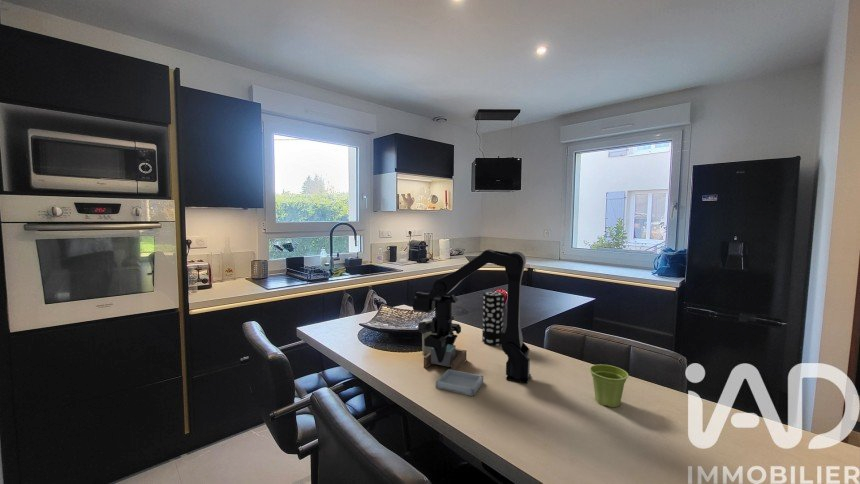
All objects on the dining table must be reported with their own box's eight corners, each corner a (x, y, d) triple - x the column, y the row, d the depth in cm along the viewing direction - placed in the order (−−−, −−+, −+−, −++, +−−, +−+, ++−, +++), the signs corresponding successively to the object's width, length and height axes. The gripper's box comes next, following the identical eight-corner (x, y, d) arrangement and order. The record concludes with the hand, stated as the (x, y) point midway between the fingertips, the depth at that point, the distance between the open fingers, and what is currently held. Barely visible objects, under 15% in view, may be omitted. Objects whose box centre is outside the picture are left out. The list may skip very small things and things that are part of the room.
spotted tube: (478, 339, 145) (479, 292, 144) (496, 337, 148) (497, 290, 147) (488, 346, 138) (488, 296, 136) (506, 344, 140) (507, 295, 139)
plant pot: (606, 413, 91) (607, 381, 90) (581, 395, 100) (582, 366, 99) (635, 408, 93) (636, 376, 92) (608, 391, 102) (609, 362, 102)
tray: (483, 382, 108) (483, 375, 108) (473, 396, 99) (473, 389, 99) (448, 374, 113) (448, 368, 112) (435, 387, 104) (435, 381, 104)
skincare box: (439, 350, 133) (439, 319, 133) (438, 355, 129) (439, 322, 128) (422, 349, 134) (422, 318, 133) (421, 354, 130) (421, 321, 129)
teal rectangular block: (455, 361, 120) (455, 345, 120) (450, 366, 116) (450, 350, 115) (436, 357, 123) (436, 342, 123) (430, 363, 119) (430, 347, 118)
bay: (466, 360, 124) (466, 350, 124) (453, 373, 114) (454, 363, 113) (438, 354, 129) (438, 345, 129) (423, 367, 118) (423, 357, 118)
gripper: (433, 305, 130) (433, 346, 131) (409, 318, 113) (409, 365, 114) (461, 308, 125) (461, 351, 127) (440, 322, 109) (440, 371, 110)
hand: (443, 359), depth 119 cm, fingers closed on teal rectangular block, 5 cm apart
